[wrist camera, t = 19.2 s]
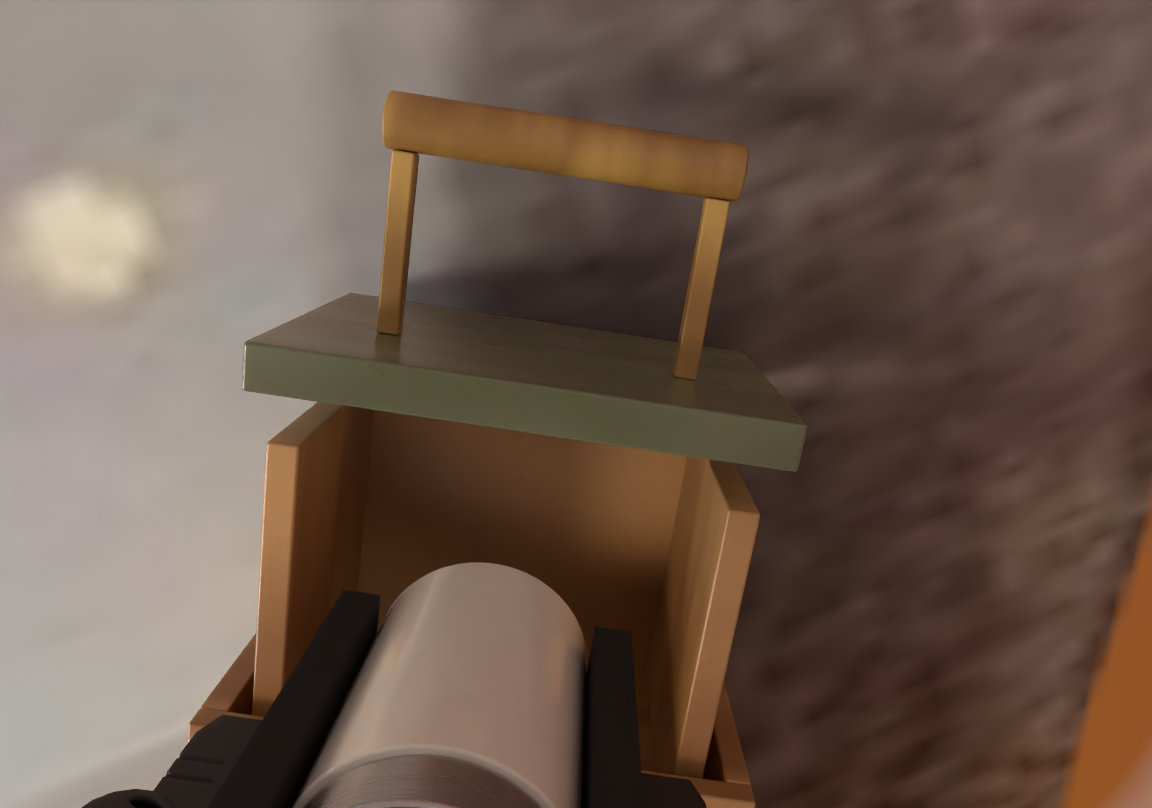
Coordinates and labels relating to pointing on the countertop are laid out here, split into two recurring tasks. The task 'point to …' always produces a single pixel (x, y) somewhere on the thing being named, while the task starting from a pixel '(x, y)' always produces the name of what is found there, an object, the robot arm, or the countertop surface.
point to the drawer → (525, 436)
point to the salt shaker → (462, 701)
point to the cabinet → (718, 787)
